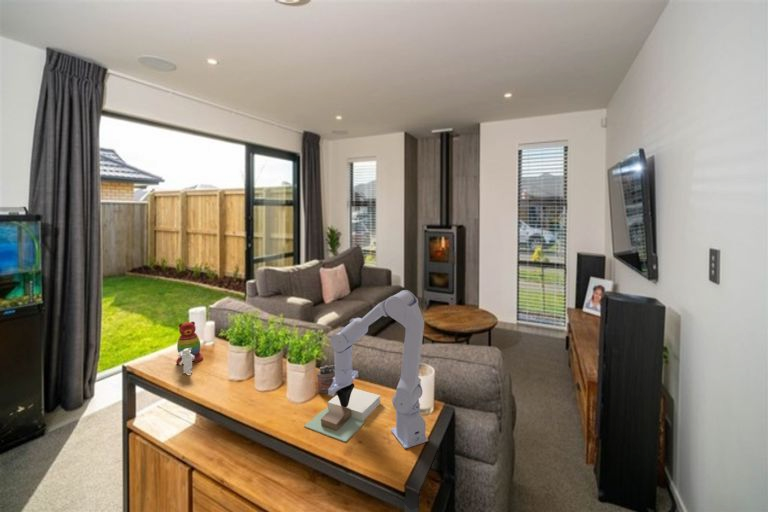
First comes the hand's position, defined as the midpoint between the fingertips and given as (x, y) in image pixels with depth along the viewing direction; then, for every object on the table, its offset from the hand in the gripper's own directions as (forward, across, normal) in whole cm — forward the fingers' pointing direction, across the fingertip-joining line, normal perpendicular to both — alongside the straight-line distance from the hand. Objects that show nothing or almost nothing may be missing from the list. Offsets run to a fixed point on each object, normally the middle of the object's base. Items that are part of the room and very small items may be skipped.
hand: (344, 405), depth 114 cm
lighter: (+4, -10, -15) cm, 19 cm away
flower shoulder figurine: (+4, +6, -77) cm, 77 cm away
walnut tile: (+3, +4, 0) cm, 5 cm away
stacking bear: (+4, -4, -90) cm, 91 cm away
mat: (+4, +6, 0) cm, 7 cm away
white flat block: (+4, -6, 0) cm, 7 cm away
